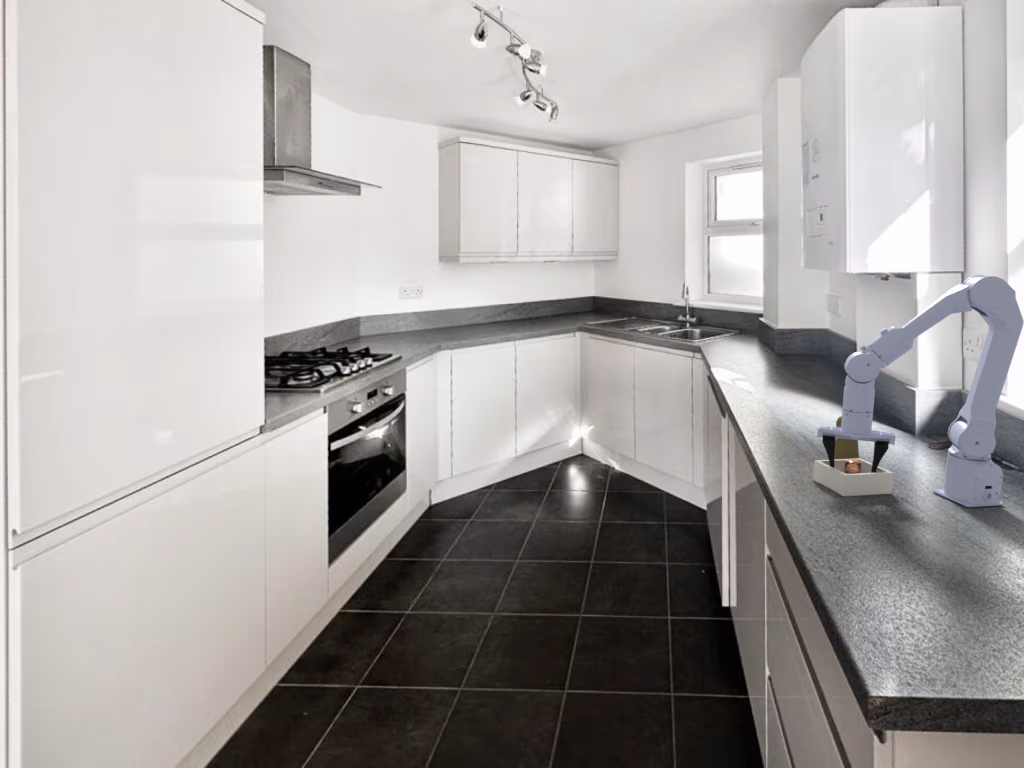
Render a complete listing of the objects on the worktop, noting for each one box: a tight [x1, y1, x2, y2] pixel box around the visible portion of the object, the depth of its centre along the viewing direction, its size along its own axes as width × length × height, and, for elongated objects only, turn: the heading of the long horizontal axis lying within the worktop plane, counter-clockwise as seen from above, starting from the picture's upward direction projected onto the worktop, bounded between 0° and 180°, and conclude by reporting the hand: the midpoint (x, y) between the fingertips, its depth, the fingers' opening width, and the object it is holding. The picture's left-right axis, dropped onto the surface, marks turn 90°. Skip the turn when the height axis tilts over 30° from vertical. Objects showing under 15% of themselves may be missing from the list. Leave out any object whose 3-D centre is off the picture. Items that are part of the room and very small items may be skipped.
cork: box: [834, 415, 860, 459], centre depth 165 cm, size 6×6×11 cm
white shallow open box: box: [812, 457, 894, 497], centre depth 149 cm, size 13×11×4 cm
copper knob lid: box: [844, 459, 862, 474], centre depth 148 cm, size 9×9×5 cm
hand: (852, 473), depth 148 cm, fingers open, 7 cm apart
